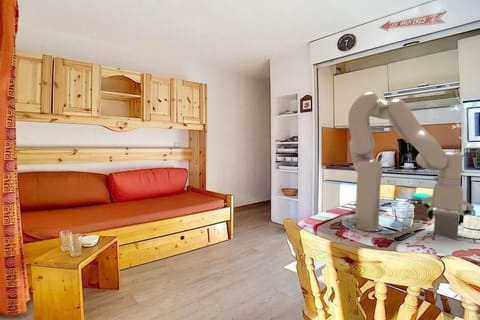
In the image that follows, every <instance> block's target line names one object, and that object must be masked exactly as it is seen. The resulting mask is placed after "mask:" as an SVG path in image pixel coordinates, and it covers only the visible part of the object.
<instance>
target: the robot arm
mask: <svg viewBox="0 0 480 320" xmlns="http://www.w3.org/2000/svg"><path fill="white" fill-rule="evenodd" d="M347 116H348V117H347V122H348V129H349V133H350V137H351V138H350V141H349V143H348V146H349V150H350V151H349V152H350V156H351V157H350V158H351V161H352V164H353V167H354V170H355V172H356V173H357V179H356V196H355V198H356V199H355V200H356V201H355V215H353V216H351V217H344V219H343V220H344V222H346V223H349V224H351V227H352V226H354V227H355V228H354V227H353V228H354V229H356V228H357V229H356V230H360V231H362V232H363V231H364V232H370V231H376V230H380V229H382V230H383V225H381V224H380V223H379V222H380V221H379V220H380V202H381V201H380V200H381V182H382V178H383V166H382V164H381V162H380V161H379V160H378V159H376V158H374V152H373V151H374V149H375V147H376V145H375V144H376V143H375V140H374V136H373V132H372V129H371V128H372V127H371V123H370V122H371V121H370V117H372V118H377V119H381V120H387V121H388V120H389V122H390V124H392V126H393V128H394V130H395V131H396V133H397V134H398V135H399V137H400V138H401V139H403V140H404V141H405V142H407V143H408V144H410V145H411V146H413V148H415V149H416V150H417V152H418V154H417V156H416V157H415V163H416V164H417V165H418V166H419V167H421V168H423V169H429V170H433V171H437V177H433V180H432V181H434V182H436V183H435V184H434V186H433V190H432V194H431V195H432V196H431V197H427V198H423V199H422V204H424V206H425V207H426V208H427V209H428V210H429V212H428V214H427V218H429V221H432V220H433V213H434V212H433V211H434V208H436V209H441V210H449V211H457V213H459V223H458V226H462V224H464V218H465V216H466V215H468V214H470V213H471V211H473V210H474V208H475V206H474V205H473V204H471V203H469V202H467V201H466V200H464V191H463V186H462V185H461V179H462V172H463V171H462V169H463V161H464V159H463V156H464V155H463V154H462V153H461V152H455V151H454V152H453V151H444V149H443V148H442V146H441V145H440V143H439V142H438V141H437V140H436V139H435V138H434V136H432V135H431V134H430V133H429V132H428V131H427V130H426V129H425V128H424V127H423V126H422V125H421V123H420V122H419V120H418V119H417V118H416V116H415V115H414V113H413V112H412V111H411V109H410V107H409V106H408V104H407V103H406V101H404V99H402V98H393V99H390V100H385V99H381V98H380V99H379V96H378V95H377V94H376V93H375V92H373V91H365V92H363V93H362V94H360V95H359V96H358V97H357V98H356V99H355V100H354V102H353V103H352V105H351V107H350V109H349V111H348V115H347ZM428 200H432V201H431V202H430V203H431V205H430V204H428V202H426V201H428ZM463 205H464V206H466V207H468V208H467V209H465V210H463ZM432 209H433V210H432Z"/></svg>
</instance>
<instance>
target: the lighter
mask: <svg viewBox="0 0 480 320" xmlns="http://www.w3.org/2000/svg"><path fill="white" fill-rule="evenodd" d="M410 201H411V202H409V203H410V204H413V205H414V206H415V208H414V218H413V219H415V220H423V221H427V220H428V214H427V211H428V209H427V208H426V207H425V206H424V204H423V202H422V200H421V199H414V198H413V197H411V199H410Z"/></svg>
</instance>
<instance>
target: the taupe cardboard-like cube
mask: <svg viewBox="0 0 480 320" xmlns="http://www.w3.org/2000/svg"><path fill="white" fill-rule="evenodd" d="M459 215H460V213H459V212H452V211H446V210H440V209H439V210H435V212H434V222H433V223H434V226H433V235H436V236H441V237H446V238H452V239H458V235H459Z"/></svg>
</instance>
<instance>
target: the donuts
mask: <svg viewBox="0 0 480 320" xmlns="http://www.w3.org/2000/svg"><path fill="white" fill-rule="evenodd" d="M411 196H412V197H411V198H414V199H421V200H422V199H423V198H427V197H431V196H432V194H428V193H420V192H417V193H413V194H412V195H411ZM426 202H427V203H431V202H432V200H428V201H426ZM432 210H433V213H435V212H434V208H433V209H432ZM428 212H429V210H428V211H427V215H428Z"/></svg>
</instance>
